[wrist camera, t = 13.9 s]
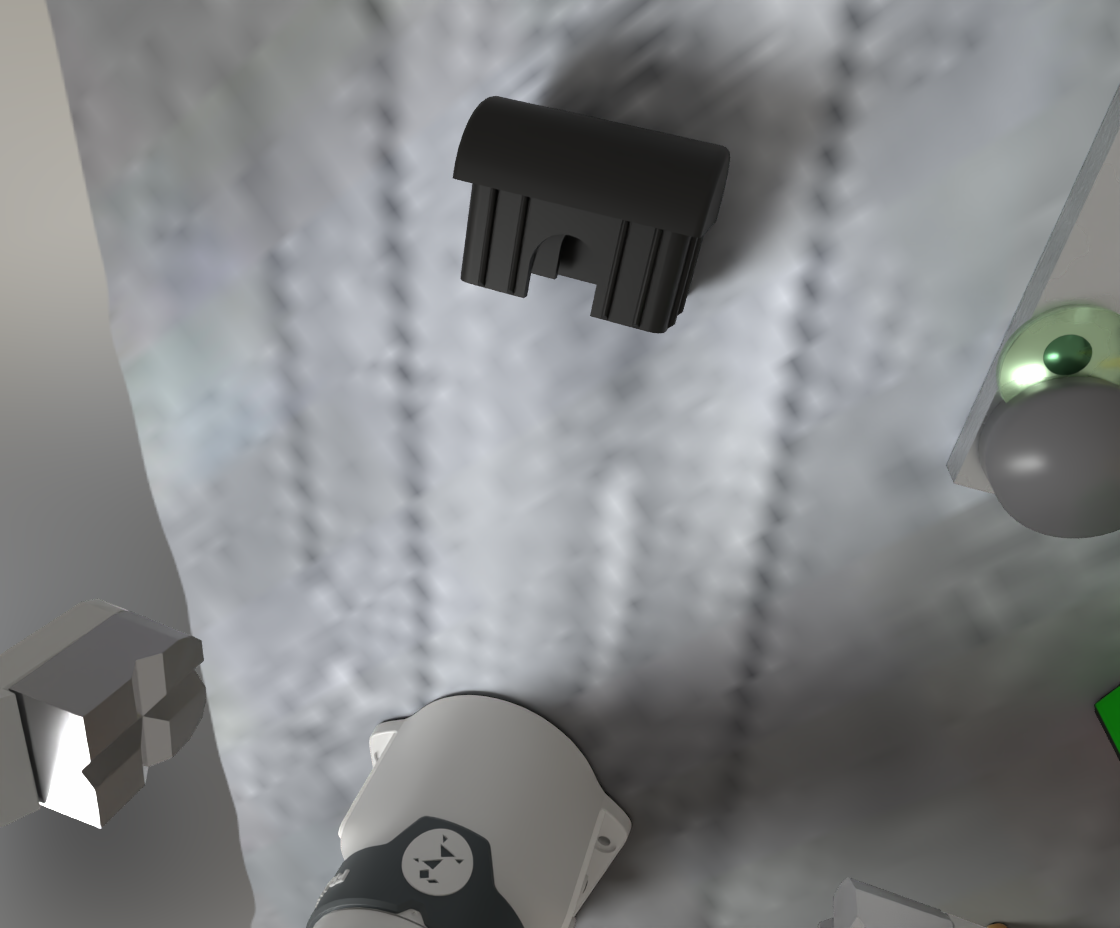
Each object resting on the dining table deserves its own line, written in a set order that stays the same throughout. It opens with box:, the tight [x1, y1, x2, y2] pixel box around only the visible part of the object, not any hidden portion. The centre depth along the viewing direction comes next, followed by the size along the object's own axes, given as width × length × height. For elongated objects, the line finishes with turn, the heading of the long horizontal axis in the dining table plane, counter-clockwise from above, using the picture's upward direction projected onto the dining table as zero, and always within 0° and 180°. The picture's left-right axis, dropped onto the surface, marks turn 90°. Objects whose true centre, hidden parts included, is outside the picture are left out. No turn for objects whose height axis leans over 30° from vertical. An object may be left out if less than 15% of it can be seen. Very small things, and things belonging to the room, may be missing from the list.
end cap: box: [453, 96, 730, 333], centre depth 31 cm, size 10×7×7 cm
